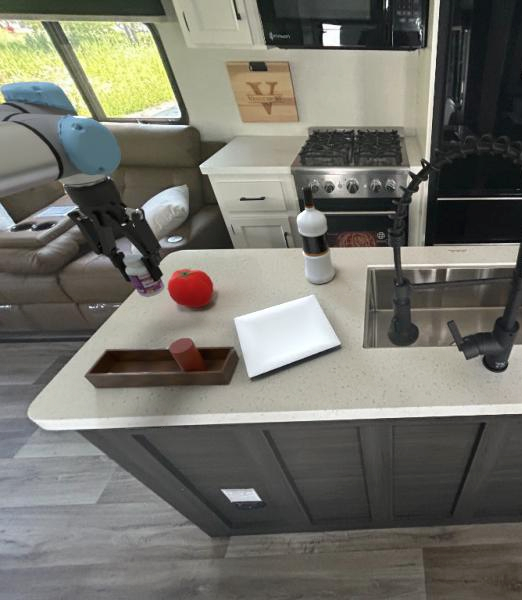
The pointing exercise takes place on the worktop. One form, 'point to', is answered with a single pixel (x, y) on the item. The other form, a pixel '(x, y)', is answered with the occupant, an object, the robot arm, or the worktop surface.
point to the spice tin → (187, 355)
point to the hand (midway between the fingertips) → (145, 278)
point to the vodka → (314, 241)
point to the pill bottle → (141, 276)
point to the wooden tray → (160, 368)
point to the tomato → (190, 287)
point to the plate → (284, 334)
